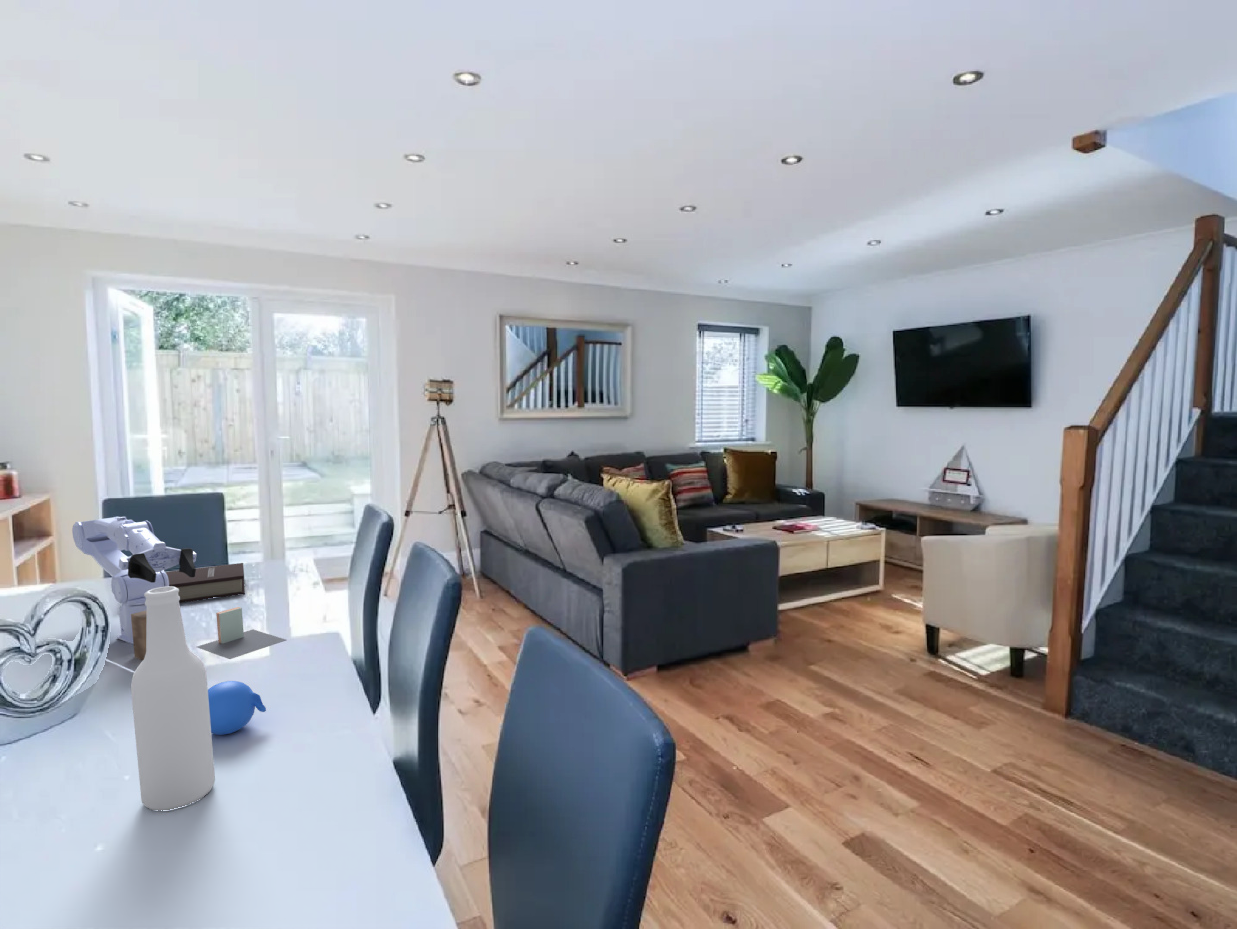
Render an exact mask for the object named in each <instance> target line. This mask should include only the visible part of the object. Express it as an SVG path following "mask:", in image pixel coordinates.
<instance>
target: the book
mask: <svg viewBox="0 0 1237 929" xmlns="http://www.w3.org/2000/svg"><path fill="white" fill-rule="evenodd" d="M195 568H196V567H195ZM244 570H245V568H244V562H240V563H239V562H238V563H231V564H230V563H227V564H222V565H213V566H204V567H197V568H196V572H195V577H189V576H188V575H187V574H185V573H183V572H179V569H178V570H170V571H169V570H168V571H165V572H166V574H167V576H168V579H169V586H172V587H176V588H178V589H179V592H178V596H180V600H179V604H183V603H192V602H198V601H197V600H199V601H204V600H203V599H206V600H209V599H208V598H213V597H221V598H226V596H228V597H233V596H232V595H235V596H239V595H238V594H243V595H245V594H246V592H245V591H246V588H245V587H246V586H244V584H245V571H244ZM191 601H192V602H191Z"/></svg>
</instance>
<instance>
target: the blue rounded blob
mask: <svg viewBox="0 0 1237 929" xmlns="http://www.w3.org/2000/svg"><path fill="white" fill-rule="evenodd" d="M208 699H209V711H210V724H211V735H212V734H213V735H219V736H224V735H229V734H232V733H235V732H237V731H240V730H241V729H243V728H244V727H245V726H246V725H248V723H249V722H250V721H251V719H252V718H253V715H254V714H255V709H256V710H258V711H259V712H260V713H266V711H267V709H266V708H267V707H266V706H265V705H264V704H263V701H262V698H261V696H260V695H259V694H258V693H256V692H254V691H253V690H252V688H251V687H250V686H249V685H247V684H246V683H244V682H241V681H237V680H227V681H222V682H219V683H216V684H215V685H212V686H211V687H209V688H208Z"/></svg>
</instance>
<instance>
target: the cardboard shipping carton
mask: <svg viewBox="0 0 1237 929" xmlns="http://www.w3.org/2000/svg"><path fill="white" fill-rule="evenodd" d="M131 622H132V633H133V644H132V645H133V652H134V653H133V654H134V658H136V659H138V660H140V661H143V660H144V658H145V654H146V623H147V610H146V611H142V612H138V613H134V614H131Z"/></svg>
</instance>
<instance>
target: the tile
mask: <svg viewBox="0 0 1237 929" xmlns="http://www.w3.org/2000/svg"><path fill="white" fill-rule="evenodd" d="M243 619H244V618H243V608H242V607H240V606H237V607H234V608H233V607H232V608H229V609H226V610H222V611H218V612H216V626H217V638H218V639H217V640H218V641H219V643H221V644H223V643H226V642H229V641H232V640H236V639H239V638H242V637H244V632H245V631H244V620H243Z"/></svg>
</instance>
